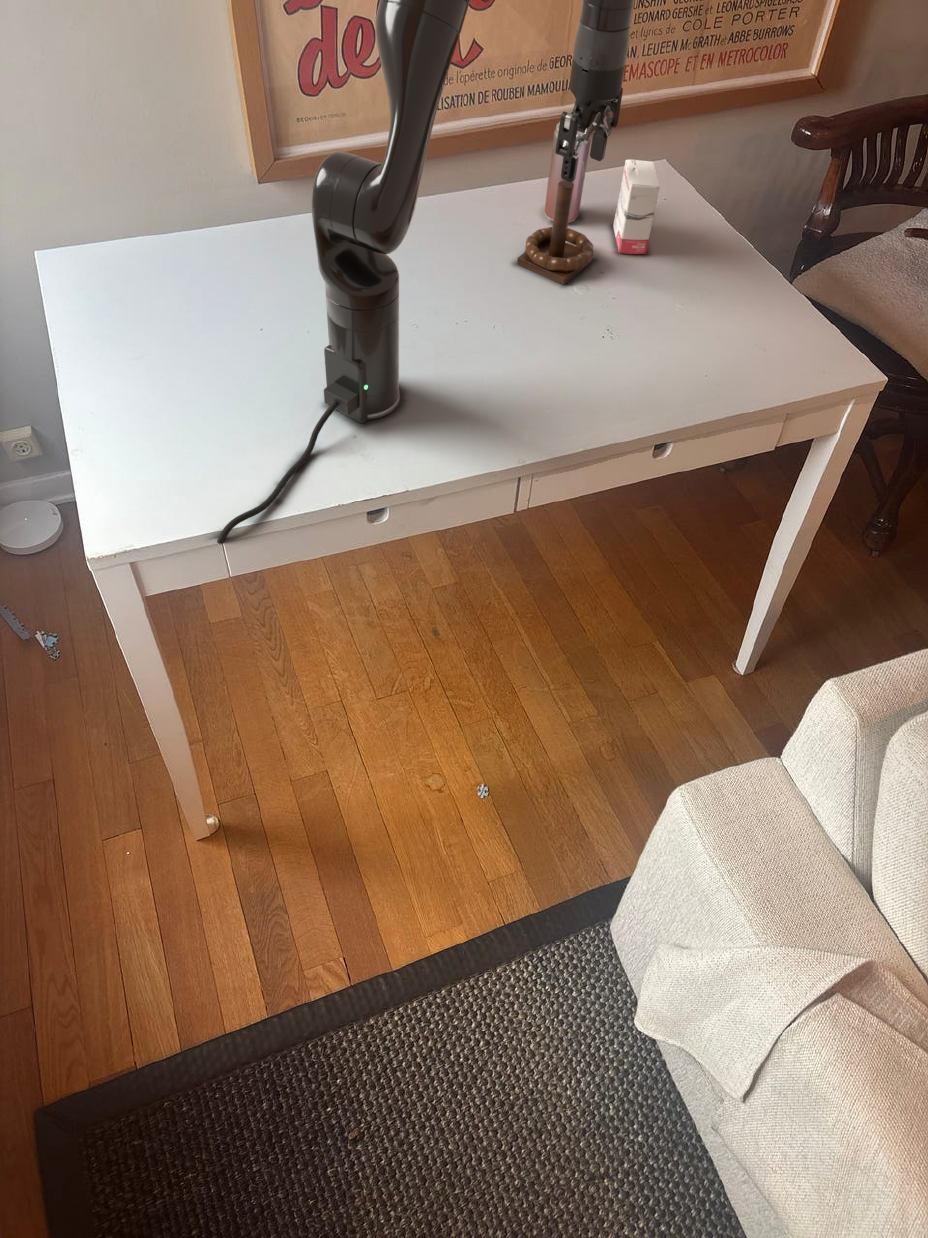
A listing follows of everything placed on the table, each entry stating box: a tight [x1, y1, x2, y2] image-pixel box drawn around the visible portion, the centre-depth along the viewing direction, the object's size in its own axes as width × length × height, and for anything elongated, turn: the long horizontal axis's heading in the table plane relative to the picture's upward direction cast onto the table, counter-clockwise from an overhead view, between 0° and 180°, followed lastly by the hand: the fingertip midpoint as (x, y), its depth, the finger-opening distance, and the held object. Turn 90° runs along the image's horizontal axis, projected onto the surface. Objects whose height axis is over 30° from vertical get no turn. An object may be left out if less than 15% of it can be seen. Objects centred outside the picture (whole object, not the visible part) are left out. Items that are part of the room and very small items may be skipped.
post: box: [516, 181, 594, 285], centre depth 152 cm, size 9×9×13 cm
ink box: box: [612, 159, 661, 255], centre depth 158 cm, size 9×5×12 cm, turn 0°
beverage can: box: [544, 121, 592, 224], centre depth 160 cm, size 6×6×15 cm
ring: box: [524, 226, 594, 272], centre depth 156 cm, size 11×11×2 cm
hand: (582, 169), depth 149 cm, fingers open, 8 cm apart
